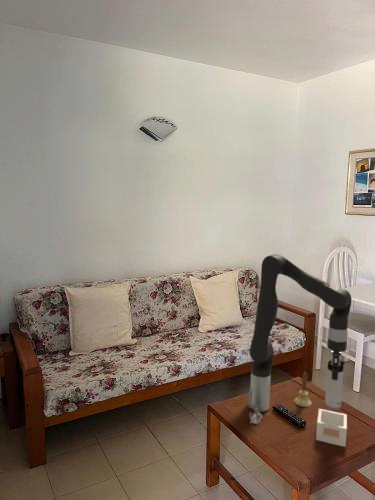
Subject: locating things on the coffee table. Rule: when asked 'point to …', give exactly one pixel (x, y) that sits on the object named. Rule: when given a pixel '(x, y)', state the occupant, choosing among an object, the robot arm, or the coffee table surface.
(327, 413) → the socket
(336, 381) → the travel mug
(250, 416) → the house of cards
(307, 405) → the hand bell
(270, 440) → the coffee table surface
